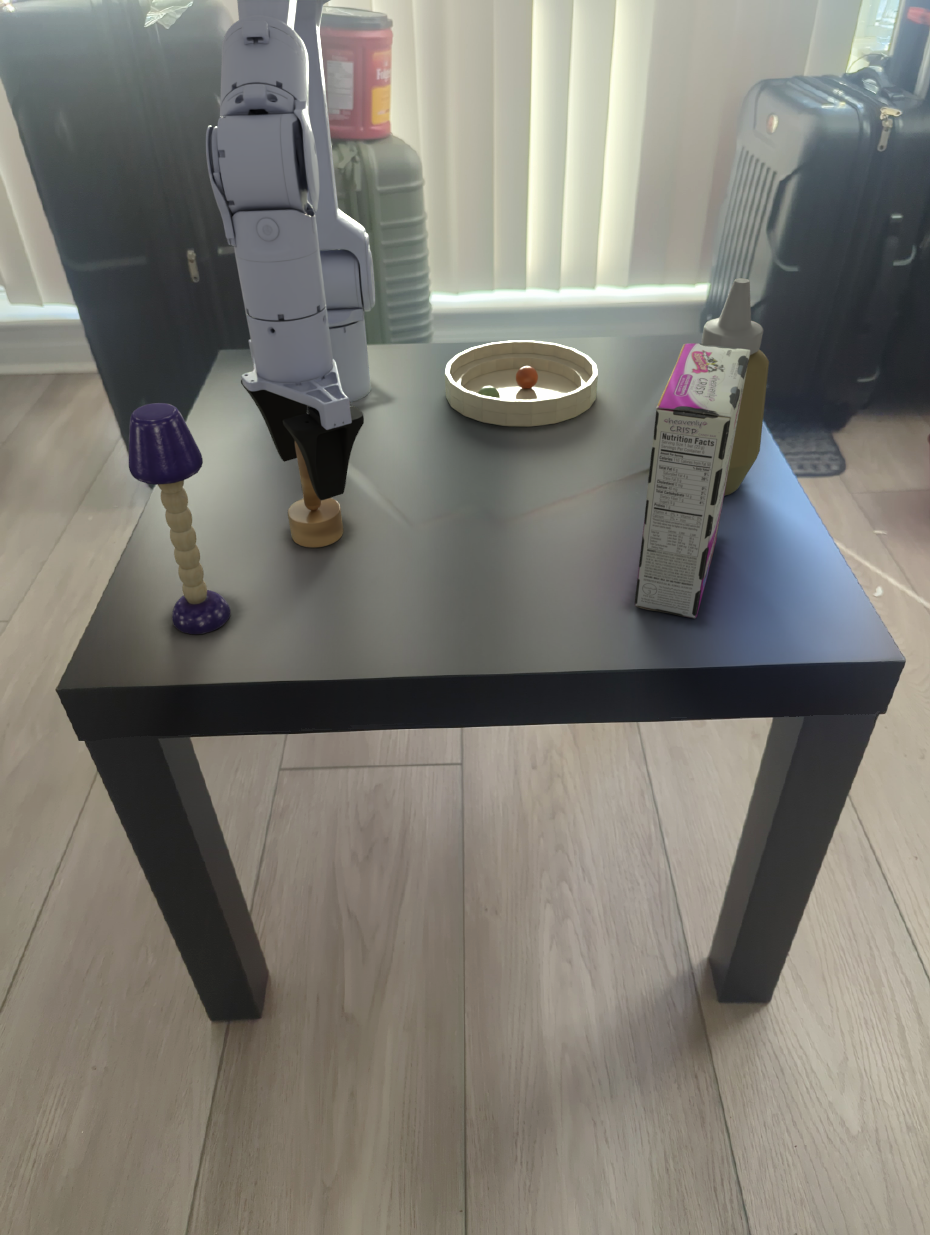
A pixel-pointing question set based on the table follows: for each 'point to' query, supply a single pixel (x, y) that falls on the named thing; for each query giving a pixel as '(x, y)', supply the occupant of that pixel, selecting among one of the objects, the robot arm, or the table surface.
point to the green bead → (489, 392)
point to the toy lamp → (176, 507)
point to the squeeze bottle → (745, 334)
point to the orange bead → (526, 377)
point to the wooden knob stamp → (313, 514)
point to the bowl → (551, 400)
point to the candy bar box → (689, 476)
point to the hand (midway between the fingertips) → (311, 475)
